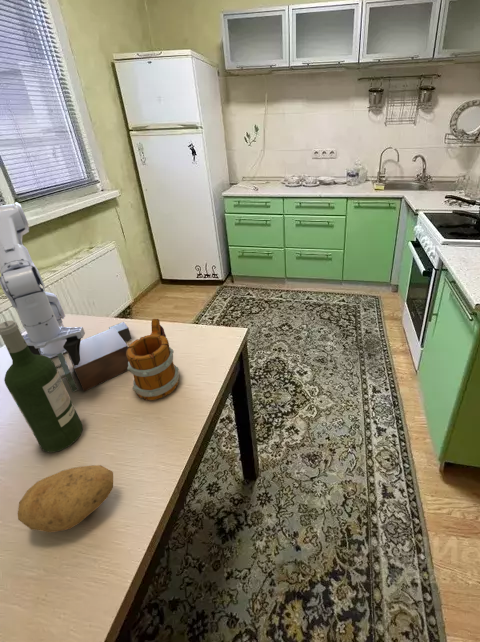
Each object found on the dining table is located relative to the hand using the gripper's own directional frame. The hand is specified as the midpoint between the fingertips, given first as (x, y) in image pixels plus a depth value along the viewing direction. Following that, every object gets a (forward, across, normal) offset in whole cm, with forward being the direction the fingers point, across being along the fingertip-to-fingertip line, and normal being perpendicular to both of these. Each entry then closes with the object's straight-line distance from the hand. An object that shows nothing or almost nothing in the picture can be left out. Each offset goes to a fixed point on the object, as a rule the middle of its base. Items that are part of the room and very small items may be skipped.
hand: (59, 365), depth 77 cm
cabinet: (+10, +5, +9) cm, 14 cm away
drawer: (+9, +1, +6) cm, 11 cm away
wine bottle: (+10, +2, -12) cm, 16 cm away
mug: (+10, +21, 0) cm, 23 cm away
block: (+10, +8, +21) cm, 25 cm away
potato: (+10, +9, -30) cm, 33 cm away
